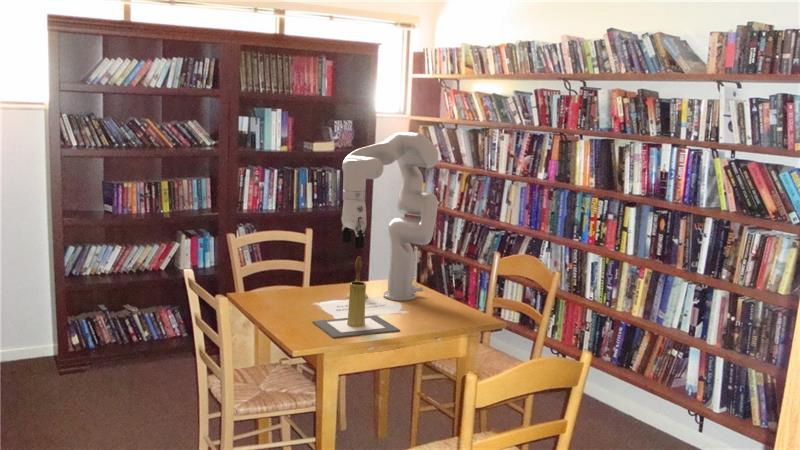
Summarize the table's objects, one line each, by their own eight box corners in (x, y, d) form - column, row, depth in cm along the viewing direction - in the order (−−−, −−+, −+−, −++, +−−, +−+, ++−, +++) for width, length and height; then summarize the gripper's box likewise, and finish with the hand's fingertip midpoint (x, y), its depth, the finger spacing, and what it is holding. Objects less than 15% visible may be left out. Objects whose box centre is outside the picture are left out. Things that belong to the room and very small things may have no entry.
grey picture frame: (376, 316, 259) (376, 314, 259) (400, 331, 243) (400, 329, 243) (312, 322, 248) (312, 320, 247) (333, 338, 232) (333, 336, 232)
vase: (366, 322, 248) (368, 281, 246) (363, 328, 242) (365, 285, 240) (348, 321, 249) (350, 280, 247) (345, 326, 243) (347, 284, 241)
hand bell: (343, 295, 287) (345, 255, 284) (363, 293, 290) (364, 254, 288) (351, 300, 279) (352, 259, 277) (371, 299, 283) (373, 258, 280)
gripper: (375, 198, 241) (374, 249, 244) (352, 191, 256) (351, 239, 259) (355, 199, 238) (353, 251, 241) (333, 192, 252) (332, 240, 255)
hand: (352, 244), depth 250 cm, fingers open, 9 cm apart
